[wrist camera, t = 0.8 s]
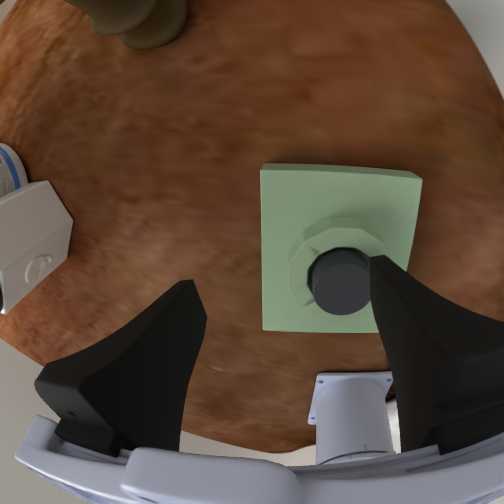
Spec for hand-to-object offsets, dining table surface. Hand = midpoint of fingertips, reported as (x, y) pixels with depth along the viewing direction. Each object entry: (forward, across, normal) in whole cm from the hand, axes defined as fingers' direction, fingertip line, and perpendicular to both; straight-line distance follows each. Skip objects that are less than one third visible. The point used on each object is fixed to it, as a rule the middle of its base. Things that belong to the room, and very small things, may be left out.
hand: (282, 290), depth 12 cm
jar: (+10, +22, -3) cm, 25 cm away
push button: (+6, -3, +4) cm, 7 cm away
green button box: (+9, -3, +4) cm, 11 cm away
